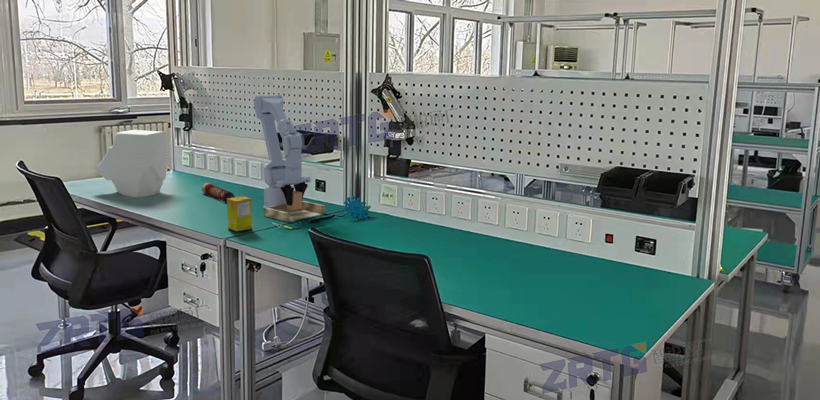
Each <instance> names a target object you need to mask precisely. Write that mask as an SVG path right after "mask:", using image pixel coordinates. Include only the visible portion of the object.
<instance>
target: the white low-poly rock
mask: <svg viewBox="0 0 820 400" xmlns="http://www.w3.org/2000/svg"><path fill="white" fill-rule="evenodd" d="M168 157H169V138H168V134H167V132H166V131H162V130H161V131H160V130H157V131H156V130H144V129H143V130H141V129H131V130H123V131H117V132H116V133H115V136H114V140H113V144H112V145H111V146H109V147H108V149H107V152H105V155H104V156H103V158H102V160H100V162H99V163H98V165H97V166H96V167H95V169H96V172H98V174H99V175H101V177H103V179H105V180H106V181H111V182H112V185H114V188H115V189H116V191H117V193H118V194H120V195H122V196H126V197H131V198H143V197H150V196H154V195H158V194H159V193H161V188H162V186H163V183H164V181H165V180H166V177H167V165H168V160H169V158H168Z"/></svg>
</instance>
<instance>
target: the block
mask: <svg viewBox="0 0 820 400" xmlns="http://www.w3.org/2000/svg"><path fill="white" fill-rule="evenodd" d="M302 201H303V199H302V192H298V191H295V190H294V191H293V197H292V205H291V206H290V205H287V209H292V210H297V209H301V208H302Z"/></svg>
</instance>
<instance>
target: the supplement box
mask: <svg viewBox="0 0 820 400" xmlns="http://www.w3.org/2000/svg"><path fill="white" fill-rule="evenodd" d="M226 208H227V227H228V228H227V229H228V231H230V232H232V233H234V234H235V233H236V234H240V233H245V232H249V231H250V232H251V231H253V215H252V214H253V212H252V211H253V210H252V198H249V197H247V196H244V195H240V196H235V197H233V198H227V202H226Z"/></svg>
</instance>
